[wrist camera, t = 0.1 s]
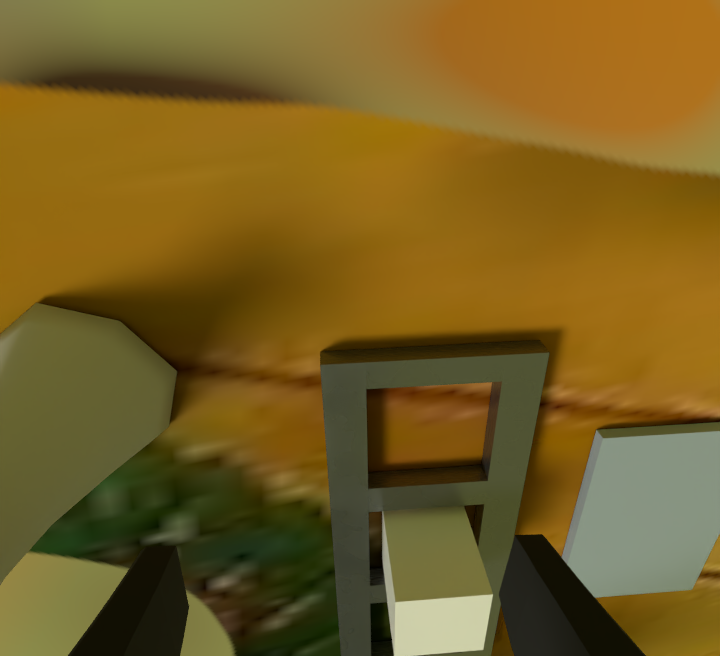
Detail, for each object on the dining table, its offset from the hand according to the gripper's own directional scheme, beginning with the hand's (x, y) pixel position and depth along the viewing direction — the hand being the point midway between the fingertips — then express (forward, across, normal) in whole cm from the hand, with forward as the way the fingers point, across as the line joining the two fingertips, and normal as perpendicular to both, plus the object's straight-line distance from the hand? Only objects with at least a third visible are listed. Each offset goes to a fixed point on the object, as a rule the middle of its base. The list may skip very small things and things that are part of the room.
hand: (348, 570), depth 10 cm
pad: (+10, -16, +10) cm, 22 cm away
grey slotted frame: (+10, -4, +11) cm, 16 cm away
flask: (+10, +10, +2) cm, 14 cm away
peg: (+10, -4, +11) cm, 16 cm away
